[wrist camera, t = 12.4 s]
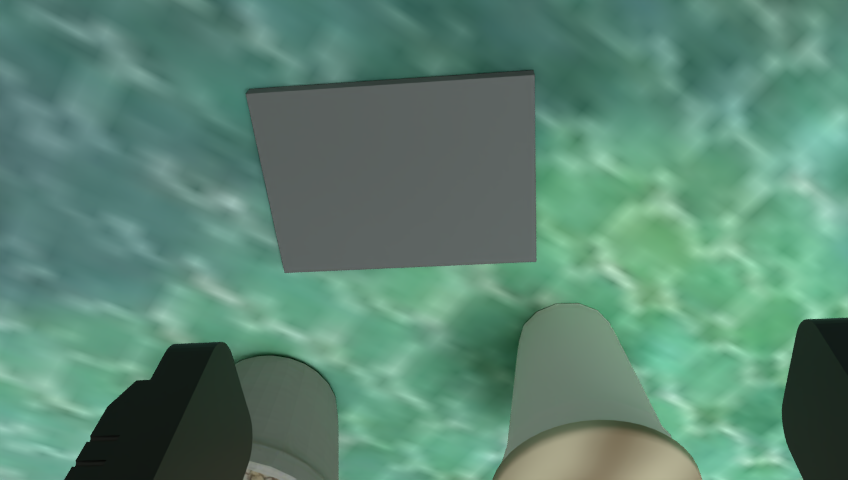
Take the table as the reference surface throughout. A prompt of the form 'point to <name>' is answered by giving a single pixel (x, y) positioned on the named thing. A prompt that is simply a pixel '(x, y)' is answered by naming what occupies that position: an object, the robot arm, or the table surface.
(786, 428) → the robot arm
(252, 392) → the potted plant
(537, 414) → the foam cup
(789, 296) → the table surface
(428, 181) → the mat
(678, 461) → the lid
